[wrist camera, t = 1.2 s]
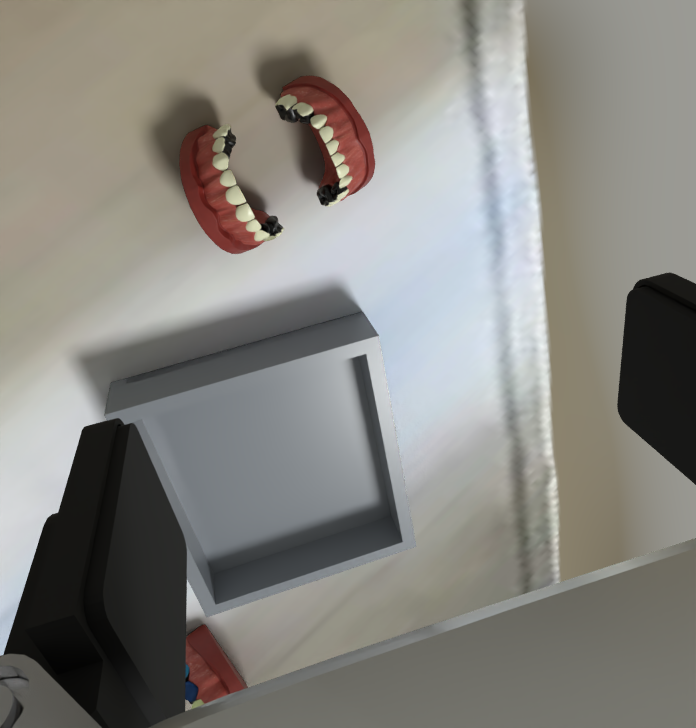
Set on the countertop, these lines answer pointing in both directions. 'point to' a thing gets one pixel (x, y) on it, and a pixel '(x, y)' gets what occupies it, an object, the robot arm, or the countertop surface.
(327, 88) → the denture
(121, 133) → the countertop surface
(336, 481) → the tray
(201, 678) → the teeth model
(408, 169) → the countertop surface
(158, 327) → the countertop surface
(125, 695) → the robot arm
